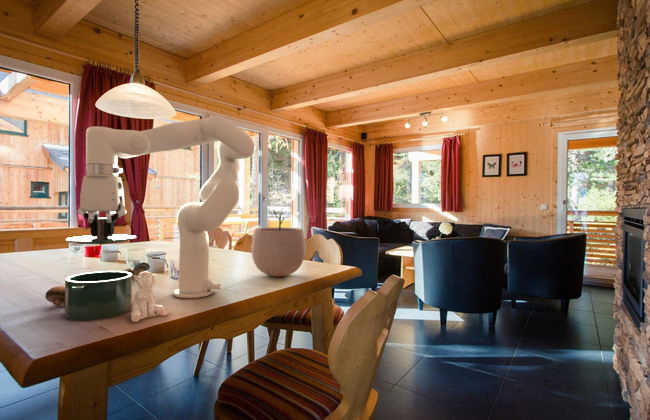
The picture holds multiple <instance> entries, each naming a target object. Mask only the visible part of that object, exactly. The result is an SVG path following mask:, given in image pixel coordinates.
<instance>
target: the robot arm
mask: <svg viewBox="0 0 650 420" xmlns="http://www.w3.org/2000/svg"><path fill="white" fill-rule="evenodd" d="M216 142H218V145H217V154H218V158H219V163H218V166H217V168H216V170H215V171H214V172H213V173H212V175H211V176H210V177H209V178H208V180H206V182H205V183H204V184H203V185H202V186H201V188H200V191H199V199H200V201H191V202H187V203H185V204H183V205H182V206H181V207H180V208H179V210H178V213H177V216H176V217H177V218H176V221H177V227H178V234H179V235H178V236H179V238H178V239H179V248H178V249H179V250H178V251H179V255H178V269H179V270H178V288H177V289H175V290H174V291H173V296H174V297H176V298H180V299H197V298H204V297H207V296H210V295H212V294H213V293H214V290H221V287H222V286H221V285H222V284H221V283H219V282H212V279H211V278H209V266H210V265H209V261H210V260H209V257H210V238H209V234H208V232H213V231H215V230H217V229H218V228H220V226H222V224H223V223H225V221H226V219H227V218H228V217H229V215H230V214H231V213H232V211H233V210H234V208H235V207H236V206H237V205H238V203H239V200H240V198H241V188H240V186H239V184H238V181H239V180H240V177H241V173H242V171H241V163H240V160H242V159H248V158H251V157H252V156H253V155H254V153H255V152H256V143H255V140H254V139H253V137H251V135H250V134H249V133H247V132H246V131H244V130H243V129H242V128H240V127H239V126H238V125H236V124H235V123H233V122H232V121H230V120H229V119H227V118H226V117H224V116H221V115H217V114H216V115H212V116H209V117H204V118H199V119H198V118H197V119H192V120H186V121H177V122H171V123H167V124H163V125H161V126H160V125H159V126H157V127H154V128H151V129H144V130H140V131H139V130H136V129H135V130H134V129H114V128H111V127H107V126H96V125H95V126H89V127H88V128H87V129H86V132H85V148H86V149H85V174H86V175H84V176H83V179H82V183H81V188H80V201H79V203H80V205H79V207H78V209H77V211H76V213H77V214H78V215H80V216H82V217H84V218H85V219H86V220H87V222H88V223H89V224H90V234H91V236H92V237H97V218H100V213H103V212H104V213H105V218H106V220H107V223H105V237H112V236H113V235H115V223H116V222H117V221H118V219H120V218H121V217H123V216H125V215H126V214H127V213H128V211H127V209H126V204H125V203H126V201H125V191H124V185H123V180H122V177H120V176H119V174H122V173H123V168H122V167H119V165H118V164H119V163H118V162H119V159H118V158H121V159H130V158H134V157H139V156H140V157H141V156H143V155H149V154H154V153H160V152H171V151H178V150H183V149H187V148H191V147H196V146H202V145H207V144H211V143H216Z"/></svg>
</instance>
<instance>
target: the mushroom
mask: <svg viewBox="0 0 650 420" xmlns="http://www.w3.org/2000/svg"><path fill="white" fill-rule="evenodd" d="M45 299H46V300H47V302H49V303H52V304H53V305H54V306H57V307H60V308H62V307H64V306H65V285H64V286H63V285H59V286H53V287H51V288H50V289H48V290H47V291H46V292H45Z"/></svg>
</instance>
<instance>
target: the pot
mask: <svg viewBox="0 0 650 420" xmlns="http://www.w3.org/2000/svg"><path fill="white" fill-rule="evenodd" d="M64 283H65V284H64V287H65V303H64V316H65V318H66V319H68V320H72V321H95V320H104V319H110V318H114V317H119V316H122V315H124V314H126V313H128V312H130V311H132V309H131V308H132V305H133V302H132V298H133V296H132V295H133V294H132V293H133V280H132V273H129V272H124V271H122V270H117V271H116V270H106V271H105V270H104V271H92V272H84V273H79V274H74V275H70V276H68V277H66V278H65V281H64Z"/></svg>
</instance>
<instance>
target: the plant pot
mask: <svg viewBox="0 0 650 420" xmlns="http://www.w3.org/2000/svg"><path fill="white" fill-rule="evenodd" d="M283 209H284V208H281V211H280V214H279V215H277V212H276V211H275V210H274V209H272V211H273V213H274V215H275V219H276V220H277V219H278V226H277V227H273V226H272V227H271V226H270V227H269V226H268V227H256V228H254V232H253V235H252V241H251V256H252V260H253V263H254V265H255V267H256V268H257V269H258V270H259V272H261V273H263V274H265V275H266V276H270V277H280V278H281V277H287V276H290V275H291V274H294V273H295V272H297V271H298V270H299V268H300V267H301V266H302V264H303V263H304V260H305V256H306V252H307V244H306V237H305V233H304V229H303V228H299V227H298V228H297V227H282V224H283V221H284V220H285V216H283V215H284V212H283ZM282 216H283V217H282Z"/></svg>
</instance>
